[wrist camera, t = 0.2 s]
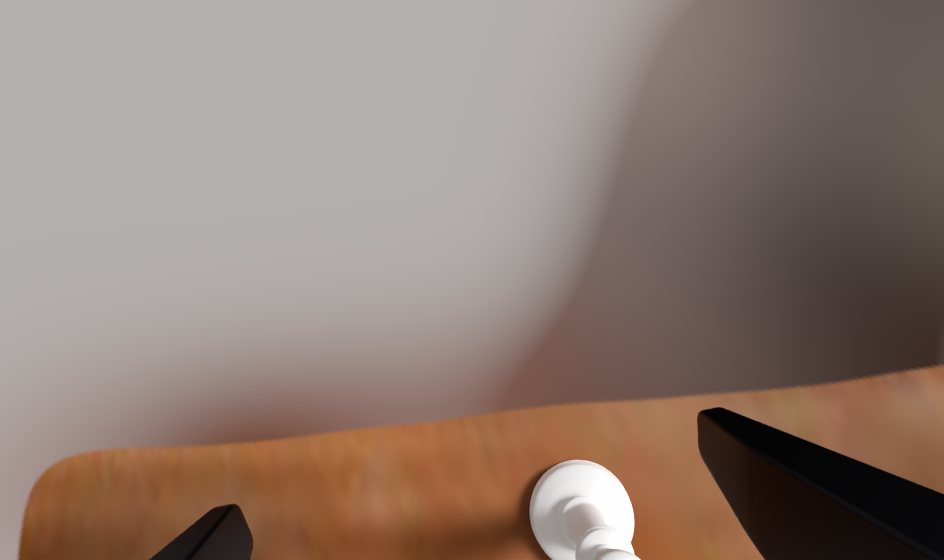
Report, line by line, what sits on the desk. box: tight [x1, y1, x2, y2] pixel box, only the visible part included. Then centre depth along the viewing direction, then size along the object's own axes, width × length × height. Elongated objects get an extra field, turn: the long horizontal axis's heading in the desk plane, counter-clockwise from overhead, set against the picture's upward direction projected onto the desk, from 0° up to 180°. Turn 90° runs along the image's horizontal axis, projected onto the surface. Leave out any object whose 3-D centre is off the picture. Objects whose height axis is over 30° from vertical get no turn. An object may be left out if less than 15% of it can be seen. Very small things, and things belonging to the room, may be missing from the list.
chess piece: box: [530, 460, 640, 560], centre depth 17 cm, size 5×5×10 cm
